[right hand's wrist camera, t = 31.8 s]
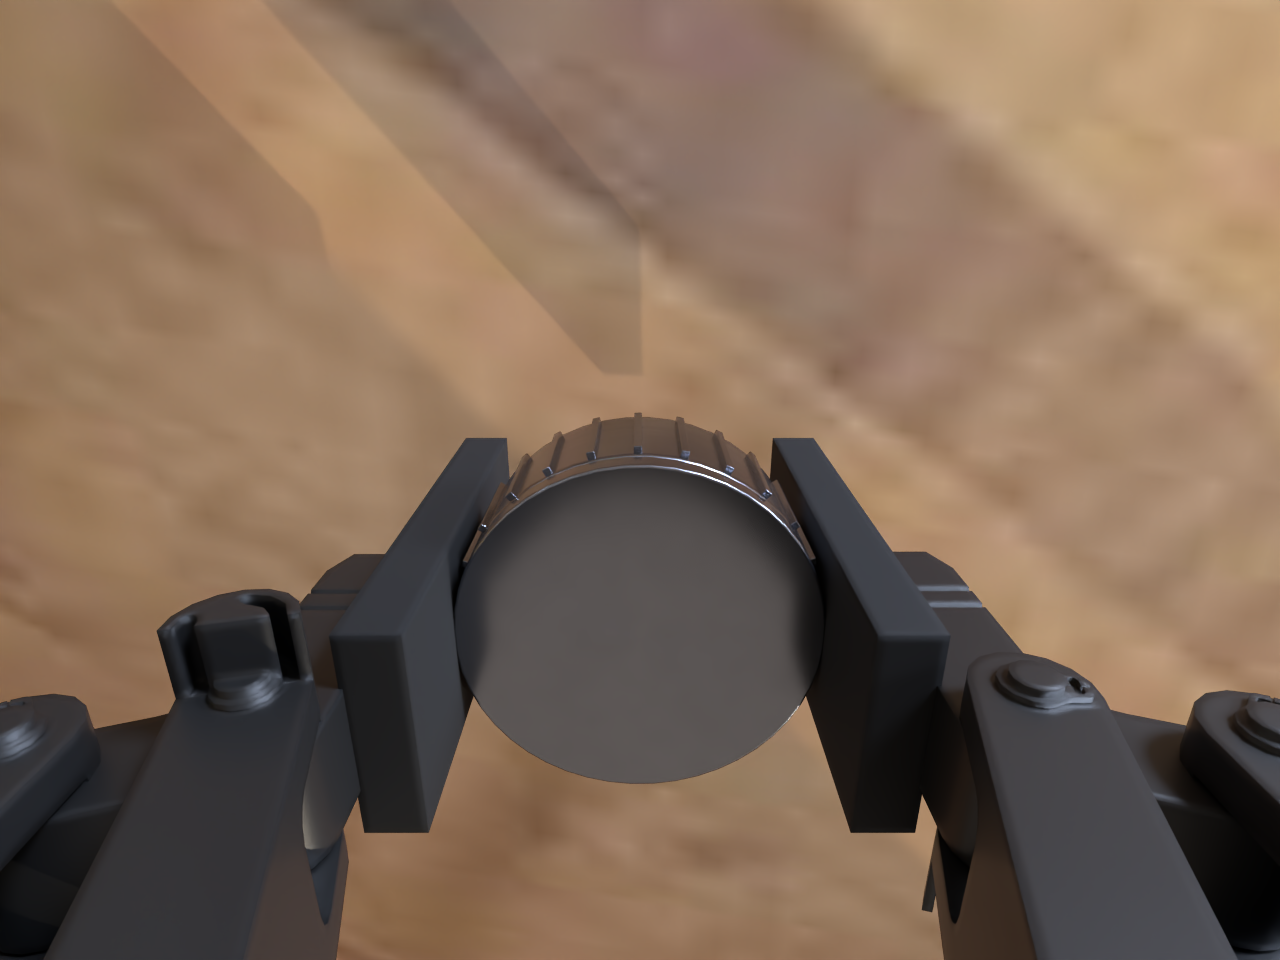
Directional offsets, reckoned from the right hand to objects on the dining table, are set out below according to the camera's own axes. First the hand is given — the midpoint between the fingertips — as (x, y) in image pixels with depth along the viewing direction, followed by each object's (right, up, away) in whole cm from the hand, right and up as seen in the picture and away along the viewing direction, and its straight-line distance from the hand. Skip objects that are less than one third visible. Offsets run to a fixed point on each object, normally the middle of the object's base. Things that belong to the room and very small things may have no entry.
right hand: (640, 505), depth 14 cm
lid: (0, -2, -4) cm, 4 cm away
